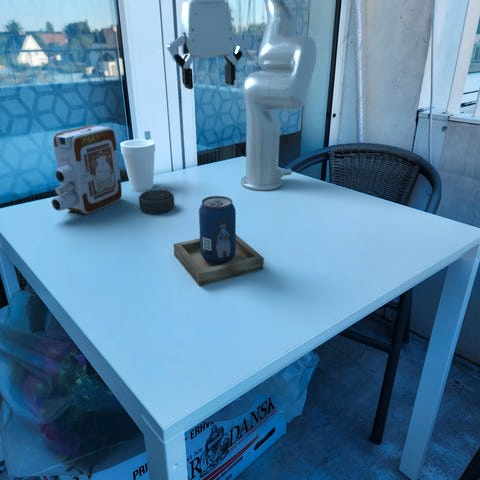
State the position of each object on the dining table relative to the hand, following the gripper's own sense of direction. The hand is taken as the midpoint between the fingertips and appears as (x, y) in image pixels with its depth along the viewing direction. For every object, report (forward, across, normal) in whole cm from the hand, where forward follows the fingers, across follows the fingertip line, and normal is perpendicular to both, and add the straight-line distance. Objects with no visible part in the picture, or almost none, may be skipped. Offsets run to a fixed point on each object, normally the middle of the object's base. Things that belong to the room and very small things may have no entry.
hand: (209, 86), depth 91 cm
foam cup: (+31, +9, -30) cm, 44 cm away
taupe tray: (+30, +10, +21) cm, 38 cm away
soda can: (+29, +9, +21) cm, 37 cm away
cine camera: (+31, +27, -20) cm, 45 cm away
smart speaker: (+31, +11, -12) cm, 35 cm away
